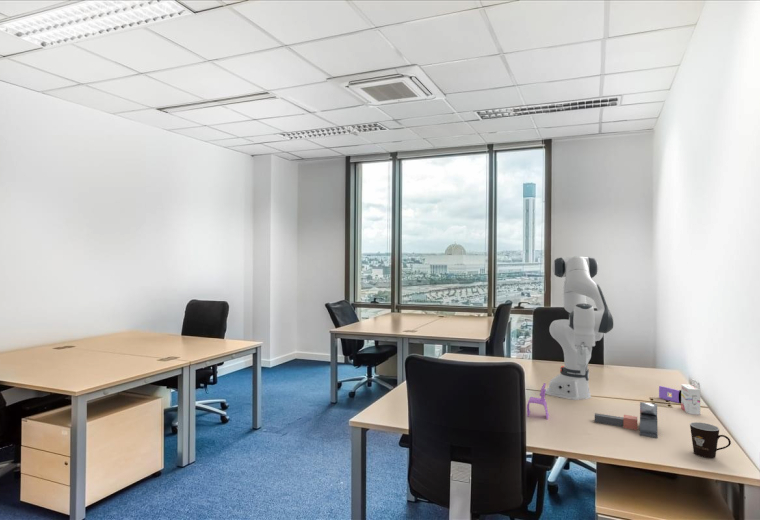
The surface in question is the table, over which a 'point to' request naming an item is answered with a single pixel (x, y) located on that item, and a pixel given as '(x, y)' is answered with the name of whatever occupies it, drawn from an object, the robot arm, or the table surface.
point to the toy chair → (539, 401)
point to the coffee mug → (705, 439)
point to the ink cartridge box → (691, 397)
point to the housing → (648, 420)
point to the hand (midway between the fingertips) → (584, 372)
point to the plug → (617, 420)
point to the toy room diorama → (673, 397)
